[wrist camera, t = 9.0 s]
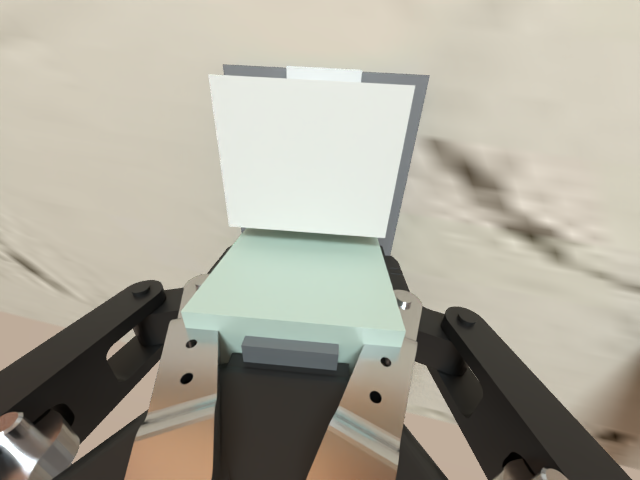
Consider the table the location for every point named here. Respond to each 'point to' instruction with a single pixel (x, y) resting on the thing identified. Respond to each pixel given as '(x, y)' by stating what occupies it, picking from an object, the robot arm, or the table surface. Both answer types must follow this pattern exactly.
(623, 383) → the table surface
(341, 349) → the block
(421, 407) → the table surface
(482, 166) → the table surface
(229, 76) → the rail panel
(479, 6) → the table surface
